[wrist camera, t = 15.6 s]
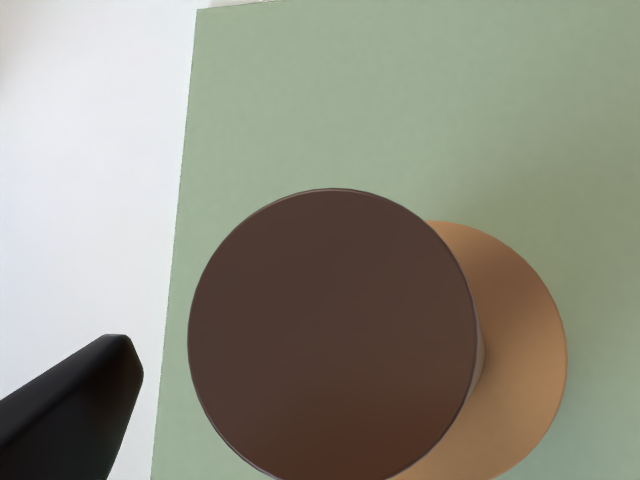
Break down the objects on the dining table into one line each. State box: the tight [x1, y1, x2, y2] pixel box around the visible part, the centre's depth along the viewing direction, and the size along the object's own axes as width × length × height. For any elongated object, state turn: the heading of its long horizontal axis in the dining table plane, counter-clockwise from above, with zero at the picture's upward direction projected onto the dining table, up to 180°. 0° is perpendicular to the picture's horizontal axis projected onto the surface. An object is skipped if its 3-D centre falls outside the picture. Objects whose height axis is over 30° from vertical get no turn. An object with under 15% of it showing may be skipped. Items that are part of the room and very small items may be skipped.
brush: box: [187, 188, 568, 480], centre depth 12 cm, size 6×6×13 cm
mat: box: [150, 0, 640, 480], centre depth 19 cm, size 22×16×1 cm
